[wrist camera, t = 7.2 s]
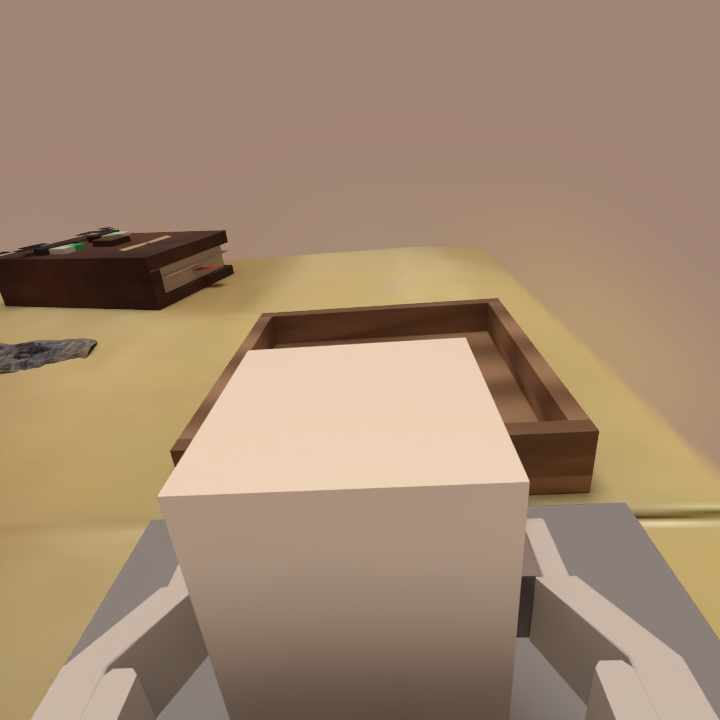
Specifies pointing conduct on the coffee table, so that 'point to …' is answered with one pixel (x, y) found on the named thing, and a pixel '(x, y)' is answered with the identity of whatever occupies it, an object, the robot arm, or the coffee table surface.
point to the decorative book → (114, 270)
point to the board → (531, 670)
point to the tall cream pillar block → (354, 535)
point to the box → (494, 358)
